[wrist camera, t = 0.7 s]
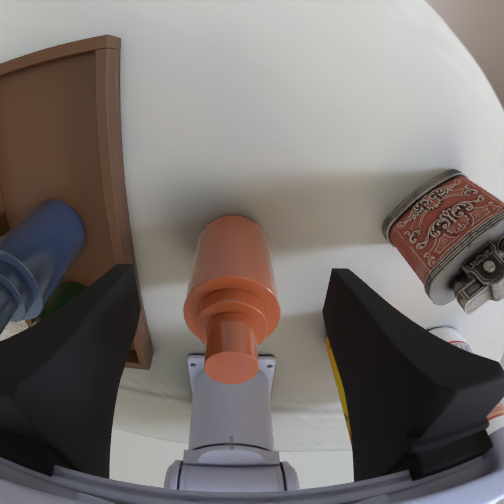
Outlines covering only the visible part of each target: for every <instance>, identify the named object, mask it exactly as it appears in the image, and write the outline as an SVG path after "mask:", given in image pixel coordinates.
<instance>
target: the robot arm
mask: <svg viewBox="0 0 504 504" xmlns="http://www.w3.org/2000/svg"><path fill="white" fill-rule="evenodd" d="M140 312H141V304H140V299H139V294H138V289H137V283H136V278H135V272H134V266H133V264H117V265H115V266H114V267H112V268H111V269H110V270H109V271H107V272H106V273H105V274H104V275H102V276H101V277H100V278H99V279H98V280H96V281H95V282H94V283H93V284H91V285H90V286H89V287H88V288H87V289H85V290H84V291H83V292H82V293H80V294H79V295H78V296H76V297H75V298H74V299H72V300H71V301H70V302H68V303H67V304H66V305H65V306H63V307H62V308H60V309H59V310H58V311H56V312H55V313H53V314H52V315H50V316H48V317H47V318H45V319H44V320H42V321H40V322H39V323H37V324H35V325H33V326H31V327H29V328H28V329H26V330H24V331H22V332H20V333H18V334H16V335H14V336H12V337H10V338H8V339H5V340H3V341H0V504H496V503H498V502H500V501H501V500H503V499H504V427H502V428H500V429H498V430H496V431H494V432H493V433H491V434H490V435H488V433H487V431H486V428H488V427H489V424H490V423H489V421H488V419H487V416H488V414H489V413H490V412H491V411H492V410H493V409H494V408H495V407H496V405H497V404H498V403H499V402H500V401H501V399H502V398H503V397H504V370H503V369H502V367H501V365H500V364H499V362H497V361H494V360H491V359H488V358H485V357H482V356H479V355H476V354H473V353H471V352H468V351H466V350H464V349H461V348H459V347H457V346H455V345H453V344H451V343H449V342H447V341H445V340H443V339H441V338H439V337H437V336H436V335H434V334H432V333H430V332H429V331H427V330H425V329H424V328H422V327H421V326H419V325H418V324H416V323H415V322H413V321H412V320H410V319H409V318H407V317H406V316H405V315H403V314H402V313H401V312H399V311H398V310H397V309H395V308H394V307H393V306H392V305H390V304H389V303H388V302H387V301H385V300H384V299H383V298H382V297H381V296H380V295H378V294H377V293H376V292H375V291H374V290H373V289H371V288H370V287H369V286H368V285H367V284H366V283H365V282H363V281H362V280H361V279H360V278H359V277H358V276H356V275H355V274H354V273H353V272H352V271H350V270H349V269H338V268H332V272H331V276H330V281H329V286H328V290H327V294H326V299H325V303H324V308H323V317H324V323H325V328H326V334H327V337H328V340H329V344H330V347H331V350H332V353H333V356H334V359H335V362H336V365H337V369H338V372H339V375H340V378H341V381H342V385H343V389H344V393H345V399H346V404H347V410H348V417H349V424H350V431H351V440H352V451H353V467H354V482H352V483H346V484H340V485H333V486H327V487H319V488H310V489H301V490H300V489H299V482H298V477H297V473H296V471H295V469H294V468H293V467H292V466H291V465H290V464H289V463H288V462H286V461H284V462H280V461H279V452H278V451H274V441H273V430H272V419H271V408H270V394H271V388H272V382H273V376H274V370H275V364H276V360H275V358H274V357H271V356H268V357H258V364H259V369H258V372H257V374H256V375H255V377H253V378H252V379H251V380H249V381H247V382H244V383H240V384H223V383H219V382H217V381H214V380H212V379H211V378H210V377H208V375H207V374H206V373H205V371H204V356H202V355H190V356H188V358H187V363H188V370H189V376H190V383H191V389H192V395H193V402H192V413H191V424H190V436H189V449H188V450H184V458H183V461H181V460H176V461H174V463H173V464H172V465H171V466H169V468H168V470H167V473H166V477H165V483H164V488H160V487H152V486H145V485H139V484H132V483H127V482H121V481H116V480H111V479H109V462H110V444H111V433H112V424H113V416H114V409H115V403H116V398H117V392H118V387H119V383H120V379H121V376H122V373H123V370H124V367H125V364H126V361H127V358H128V355H129V352H130V349H131V346H132V343H133V340H134V337H135V334H136V331H137V327H138V322H139V317H140Z"/></svg>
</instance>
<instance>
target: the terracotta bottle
mask: <svg viewBox="0 0 504 504" xmlns="http://www.w3.org/2000/svg"><path fill="white" fill-rule="evenodd" d="M183 311H184V319H185V321H186V324H187V326H188V327H189V329H190V330H191V331H192V332H193V333H194V334H195V335H196V336H197V337H198V338H199V339H200V340H201V341H202V342H203V343H204V344H205V356H204V371H205V373H206V374H207V375H208V377H210V378H211V379H212V380H214V381H217V382H219V383H223V384H240V383H244V382H247V381H249V380H251V379H252V378H253V377H255V375H256V374H257V372H258V369H259V364H258V349H257V346H258V345H259V344H260V343H261V342H262V341H263V340H264V339H265V338H267V337H268V336H269V335H270V334H271V333H272V332H273V331H274V330H275V328H276V326H277V324H278V322H279V318H280V305H279V299H278V293H277V287H276V281H275V275H274V269H273V263H272V257H271V252H270V246H269V240H268V237H267V235H266V233H265V231H264V230H263V229H262V227H261V226H260V225H259V224H257V223H256V222H255V221H253V220H251V219H249V218H246V217H243V216H238V215H228V216H223V217H219V218H217V219H215V220H213V221H211V222H210V223H209V224H207V225H206V226H205V227H204V229H203V230H202V231H201V233H200V235H199V238H198V241H197V246H196V250H195V255H194V259H193V264H192V269H191V274H190V278H189V283H188V288H187V293H186V298H185V303H184V309H183Z"/></svg>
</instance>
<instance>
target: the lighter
mask: <svg viewBox="0 0 504 504" xmlns="http://www.w3.org/2000/svg"><path fill="white" fill-rule="evenodd" d="M383 234H384V236H385V238H386V239H387V240H388V242H389V243H390V244H391V245H392V246H393V247H395V248H397V249H398V251H399V252H400V253H401V255H402V256H403V257H404V258H405V260H406V261H407V262H408V264H409V265H410V266H411V268H412V269H413V270H414V272H415V273H416V275H417V276H418V277H419V279H420V280H421V281H422V283H423V284H424V288H425V292H426V293H427V295H428V296H429V298H430V299H431V301H432V302H433V303H434V304H436V305H445V304H447V303H449V302H451V301H453V300H455V299H456V298H457V301H458V303H459V304H460V306H461V307H462V308H463V310H464V311H465V312H466V314H468V315H469V314H472V313H473V312H475V311H476V310H477V309H478V308H480V307H481V306H482V305H483V304H485V303H486V302H487V301H488V300H494V301H499V300H501V299H503V298H504V203H503V202H502V201H500V200H499V199H498V198H496V197H495V196H493V195H492V194H490V193H489V192H487V191H486V190H484V189H483V188H481V187H479V186H478V185H476V184H475V183H473V182H472V181H470V180H469V179H468V177H467V176H466V175H464V174H463V173H461V172H460V171H458V170H455V169H452V170H449V171H447V172H445V173H443V174H441V175H439V176H437V177H435V178H433V179H432V180H430V181H429V182H427V183H426V184H424V185H423V186H421V187H420V188H418V189H417V190H416V191H414V192H413V193H412V194H411V195H410V196H409V197H407V198H406V199H405V200H404V201H403V202H402V203H401V204H400V205H399V206H398V207H397V208H396V209H395V210H394V211H393V212H392V213H391V214H390V215H389V216H388V217H387V218H386V220H385V221H384V224H383Z"/></svg>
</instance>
